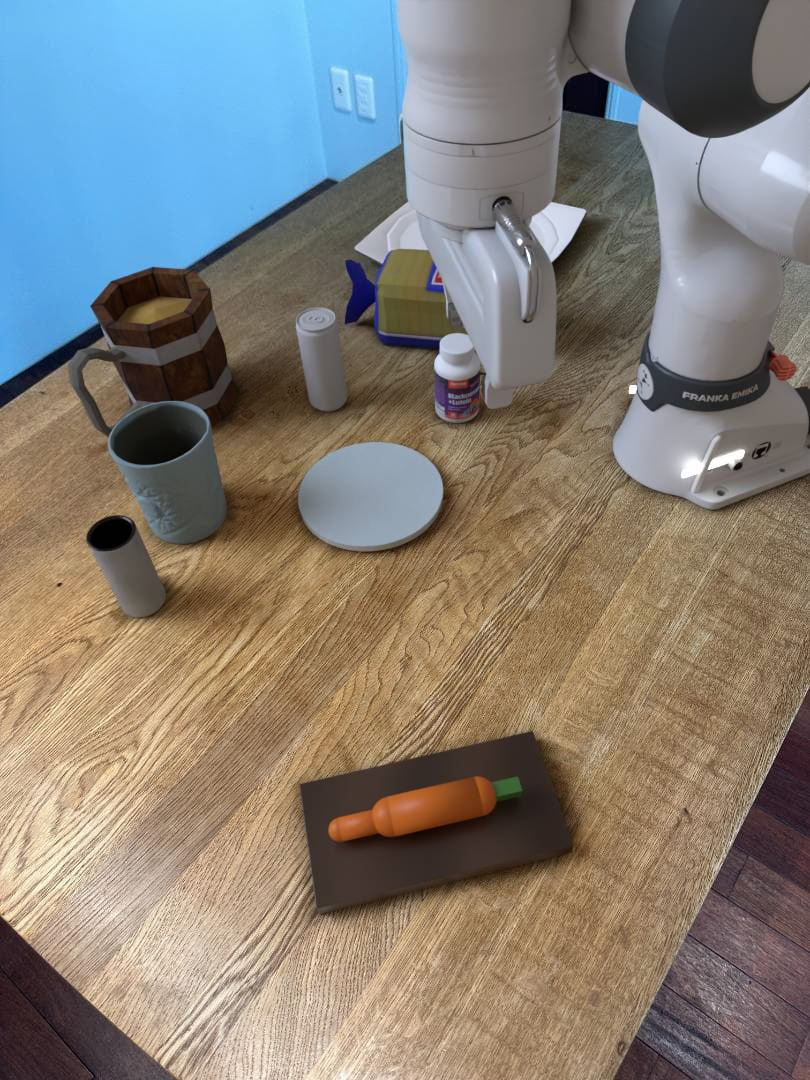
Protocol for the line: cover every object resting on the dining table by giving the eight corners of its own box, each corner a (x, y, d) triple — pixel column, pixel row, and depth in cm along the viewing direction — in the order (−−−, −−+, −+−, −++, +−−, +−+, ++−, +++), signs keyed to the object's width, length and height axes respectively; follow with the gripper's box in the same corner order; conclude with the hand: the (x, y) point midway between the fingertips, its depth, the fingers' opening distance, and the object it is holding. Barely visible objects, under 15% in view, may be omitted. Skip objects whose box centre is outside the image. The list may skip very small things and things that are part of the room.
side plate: (425, 438, 96) (424, 430, 95) (459, 536, 85) (459, 529, 84) (291, 463, 94) (289, 456, 93) (309, 566, 84) (308, 559, 83)
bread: (526, 365, 104) (532, 294, 96) (341, 347, 109) (332, 278, 101) (537, 320, 110) (542, 250, 103) (361, 305, 115) (354, 236, 107)
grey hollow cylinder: (144, 625, 80) (110, 558, 72) (111, 606, 82) (75, 539, 74) (175, 593, 82) (146, 525, 75) (143, 576, 84) (111, 507, 76)
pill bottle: (449, 430, 97) (447, 362, 89) (427, 405, 100) (424, 338, 93) (488, 414, 98) (490, 347, 91) (465, 390, 101) (465, 323, 94)
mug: (185, 357, 109) (153, 254, 98) (260, 390, 104) (235, 285, 92) (70, 441, 99) (19, 337, 88) (146, 482, 93) (102, 377, 82)
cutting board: (531, 739, 70) (532, 730, 69) (572, 852, 63) (574, 845, 62) (301, 791, 68) (299, 783, 67) (318, 914, 61) (316, 908, 60)
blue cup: (145, 558, 86) (108, 476, 77) (140, 493, 92) (105, 411, 83) (240, 535, 87) (215, 453, 78) (228, 473, 94) (204, 390, 85)
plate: (596, 224, 126) (599, 208, 124) (511, 317, 111) (512, 300, 109) (439, 187, 137) (439, 171, 135) (342, 267, 122) (340, 250, 120)
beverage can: (342, 415, 99) (330, 332, 90) (305, 412, 100) (289, 329, 91) (352, 391, 102) (341, 308, 93) (315, 387, 103) (301, 305, 94)
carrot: (512, 775, 66) (515, 761, 64) (523, 811, 64) (527, 798, 62) (327, 818, 64) (322, 805, 62) (333, 856, 63) (329, 844, 60)
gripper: (598, 242, 41) (570, 447, 51) (485, 93, 54) (481, 279, 64) (476, 262, 40) (473, 466, 50) (392, 106, 53) (404, 292, 64)
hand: (477, 360), depth 58 cm, fingers open, 8 cm apart
